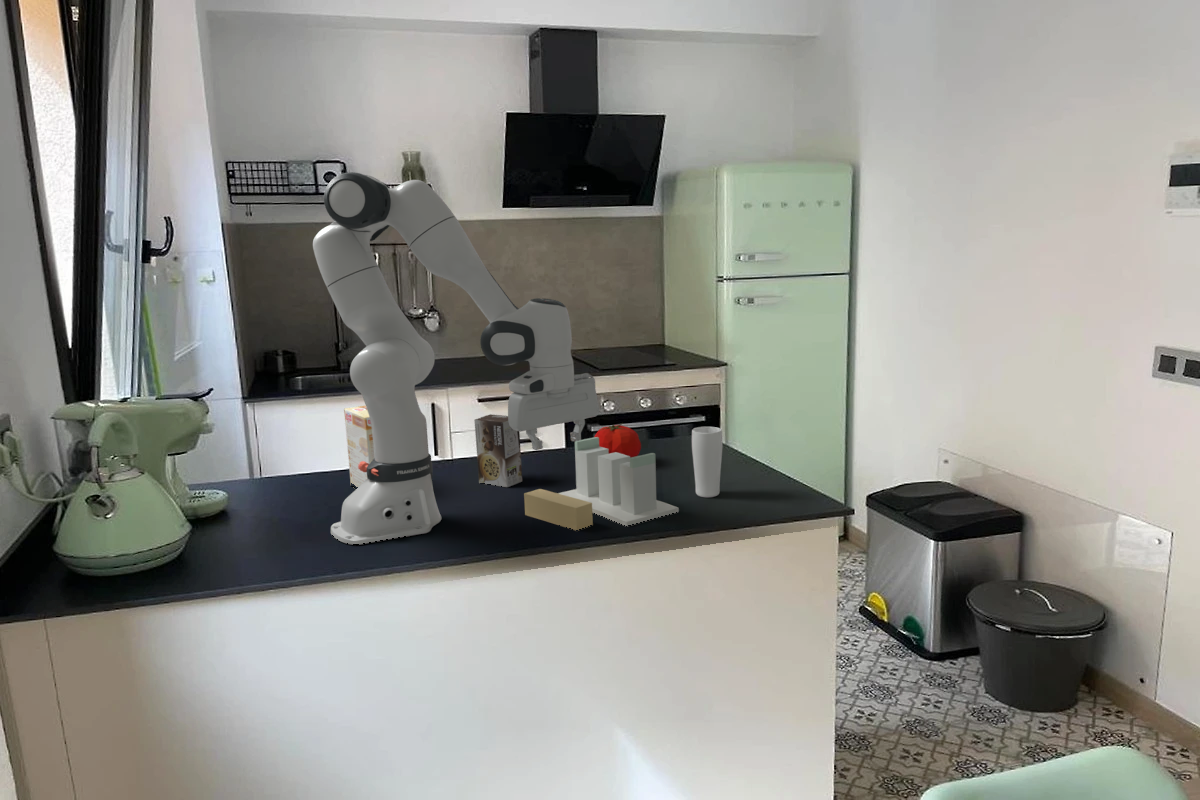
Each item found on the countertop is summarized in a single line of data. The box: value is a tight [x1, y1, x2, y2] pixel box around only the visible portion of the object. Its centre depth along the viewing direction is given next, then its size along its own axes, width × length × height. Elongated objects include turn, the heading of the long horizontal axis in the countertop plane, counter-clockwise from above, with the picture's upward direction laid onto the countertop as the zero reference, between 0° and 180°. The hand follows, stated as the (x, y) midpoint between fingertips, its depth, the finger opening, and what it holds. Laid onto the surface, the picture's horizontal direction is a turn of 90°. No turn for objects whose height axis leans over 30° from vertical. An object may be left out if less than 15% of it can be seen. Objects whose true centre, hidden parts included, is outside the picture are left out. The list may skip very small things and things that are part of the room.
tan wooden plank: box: [523, 488, 594, 531], centre depth 180 cm, size 4×16×5 cm, turn 45°
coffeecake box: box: [343, 405, 375, 487], centre depth 205 cm, size 15×7×20 cm, turn 34°
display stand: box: [558, 437, 680, 527], centre depth 188 cm, size 14×26×13 cm, turn 36°
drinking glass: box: [691, 426, 723, 498], centre depth 193 cm, size 7×7×15 cm
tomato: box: [593, 422, 642, 458], centre depth 220 cm, size 13×12×11 cm
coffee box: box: [473, 413, 523, 488], centre depth 208 cm, size 9×6×16 cm
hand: (557, 444), depth 177 cm, fingers open, 8 cm apart
